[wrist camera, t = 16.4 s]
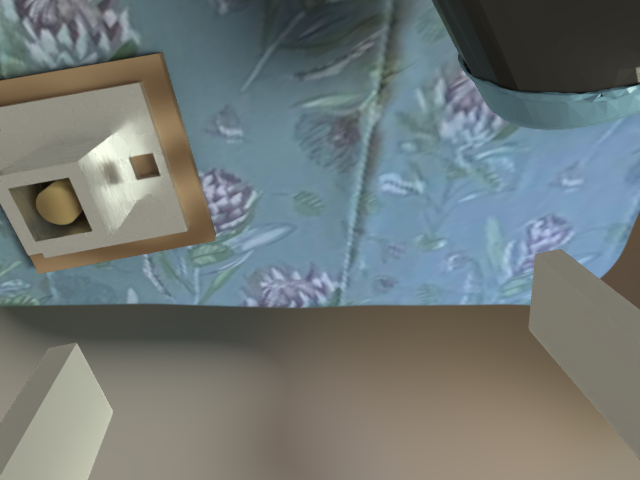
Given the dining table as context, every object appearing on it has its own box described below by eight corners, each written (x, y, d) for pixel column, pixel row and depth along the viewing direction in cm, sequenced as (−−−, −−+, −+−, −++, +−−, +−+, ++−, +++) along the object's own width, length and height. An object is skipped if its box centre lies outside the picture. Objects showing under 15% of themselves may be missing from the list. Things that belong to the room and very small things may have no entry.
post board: (-47, 88, 38) (-136, 108, 29) (162, 52, 38) (134, 61, 30) (45, 266, 46) (-4, 322, 38) (215, 234, 47) (205, 282, 38)
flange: (142, 80, 38) (110, 97, 30) (189, 225, 44) (173, 271, 36) (-22, 110, 37) (-100, 135, 29) (50, 252, 44) (2, 304, 36)
